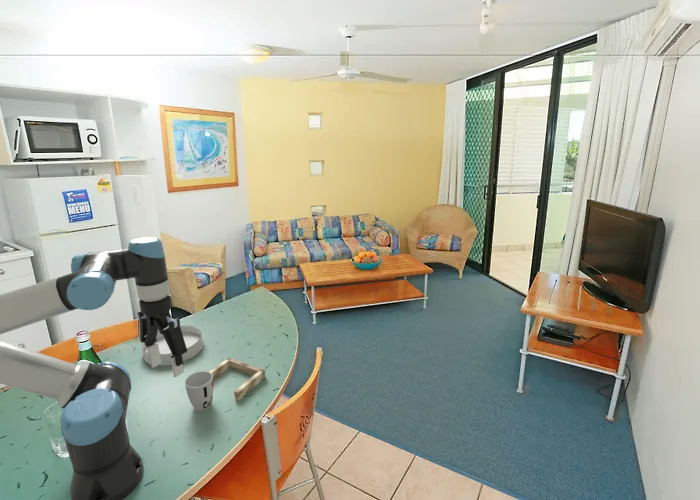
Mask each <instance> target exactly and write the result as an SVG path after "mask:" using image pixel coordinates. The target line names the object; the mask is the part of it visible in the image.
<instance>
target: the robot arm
mask: <svg viewBox="0 0 700 500" xmlns="http://www.w3.org/2000/svg"><path fill="white" fill-rule="evenodd" d="M165 254H166V253H165V251H164V247H163V242H162V240H161V239H160V238H158V237H155V236H154V237H153V236H145V237H140V238H139V237H138V238H134V239H132V240H130V241H129V242H128V247H127V248H124V249H123V248H122V249H115V250H114V249H113V250H104V251H88V252H85V253H79V254H75V255H73V257H72V258H71V263H70V272H71V273H69V274H65V275H62V276H60V277H58V276H57V277H55V278H51V279H48V280H45V281H40V282H38V283H35V284H31V285H29V286H25V287H21V288H18V289H14V290H11V291H8V292H4V293H1V294H0V335H2V334H6V333H9V332H12V331H15V330H17V329H21V328H23V327H27V326H29V325H33V324H35V323H39V322H42V321H45V320H48V319H51V318H54V317H57V316H60V315H63V314H66V313H69V312H72V311H75V310H77V309H78V310H82V311H94V310H97V309H99V308H101V307H103V306H105V305H106V304H107V303H108V302H109V300H110V299H111V297H112V295H113V294H114V291H115V287H116V283H117V281H122V280H123V281H124V280H129V279H134V282H135V286H136V287H135V289H136V294H137V297H138V299H139V300H138V303H139V308H140V311H138V312H137V316H138V319H139V320H138V321H139V340H140V342H141V343H143V342H144V343H145V345H146V346H147V349H148V354H149V358H150V363H151V364H150V368H152V369H153V368H156V367H157V366H159V364H161V358H160V352H159V346H158V343H155V344H154V342H156V341H158V340H157V339H156V337H157V332H158V331H159V332H160V334H163V336H164V338H165V340H166V342H167V345H168V347H169V349H170V351H171V353H172V355H171V356H170V357H171V363H172V365H171V369H172V375H173V377H174V378H177V377H179V376H180V375H182V374H183V373H184V372H185V370H184V365H183V364H184V361H183V359H182V354H184V353H186V352H187V348H186V345H185V341H184V338H183V335H182V331H181V328H180V326H181V321H180V319H179V318H177V317H176V318H175V319H174V318H172V315H171V313H170V311H171V309H172V308H173V301H172V300H173V299H172V295H171V290H170V285H169V275H168V270H167V262H166V255H165ZM165 328H167V329H165ZM163 329H165V330H163ZM131 381H132V380H131V376H130V373H129V371H128V370H127V369H126V367H124V366H123V365H122V364H120V363H117V362H113V361H104V362H99V363H96V364H95V363H92V362H90V361H86V362H83V363H81V364H75V363H72V362H69V361H65V360H62V359H60V358H57V357H54V356H51V355H47V354H44V353H41V352H38V351H35V350H32V349H29V348H26V347H23V346H20V345H17V344H14V343H11V342H9V341H5V340H2V339H0V385H4V386H8V387H11V388H13V389H14V388H15V389H19V390H22V391H26V392H29V393H33V394H36V395H40V396H43V397H47V398H50V399H51V398H52V399H54V400H56V402H57V404H58V407H59V408H61V409H63V410H62V411H61V413H60V419H59V420H60V421H59V422H60V431H61V435H62V437H63V440H64V443H65V446H66V449H67V450H66V451H67V453H68V457H69V459H70V462H71V463H70V464H71V466H72V469H73V472H72V478H71V482H70V483H71V484H70V490H69V496H70V499H71V500H123V499H125V498H126V497H127V496H128V495H130V494H131V493H132V492H133V491H134V490H135V489H136V487H138V485H139V483H140V482H141V479H143V476H144V471H145V468H144V463H143V458H142V457H141V455H140V454H139V453H138V451H136V450H135V448H134V447H133V446H132V445H131V442H130V439H129V433H128V429H127V423H126V420H127V419H126V418H127V411H128V405H129V399H130V393H131V390H132V382H131Z"/></svg>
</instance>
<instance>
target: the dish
mask: <svg viewBox="0 0 700 500" xmlns="http://www.w3.org/2000/svg"><path fill="white" fill-rule="evenodd" d="M167 328H168V327H167ZM167 328H165V329H167ZM180 328H181V331H182V335H183V338H184V341H185V345H186V348H187V352H186V353H184V354H182V359H183V362H186V361H187V360H190V359H191V358H193V357H195V356H196V355H197V354H199V353H200V352H201V351H202V349H203V347H204V338H203V336H202V331H201V329H200V328H198V327H196V326H192V325H180ZM165 329H163V330H165ZM156 339H157V340H158V341H156V342H154V344H155V343H158V346H159V352H160V358H161V364H159V365H158V366H170V365H171V366H172V363H171V357H170V356H171V355H172V353H171V351H170V349H169V347H168V345H167V342H166V340H165V338H164V336H163V334H160V332H159V330H158V332H157V337H156ZM141 343H142V342H141ZM141 349H142V350H141V351H142V352H141V353H142V357H143V360H144V362H146V363H147V364H149V365H151V363H150V358H149V354H148V349H147V346H146V345H145V343H144V342H143V343H142V345H141Z"/></svg>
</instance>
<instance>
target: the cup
mask: <svg viewBox="0 0 700 500" xmlns="http://www.w3.org/2000/svg"><path fill="white" fill-rule="evenodd" d="M184 386H185V390H186V394H187V397H188V399H189V402H190V404H191V406H192V407H193V409H194V410H195V411H197V412H204V411H207V410H208V409H209V408H210V407H211V406H212V403H213V402H212V401H213V398H214V380H213V375H212V374H211V373H210V372H209V371H206V370H201V371H195V372H194V373H191V374H190V375H188V376H187V377H186V378H185V380H184Z"/></svg>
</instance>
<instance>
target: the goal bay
mask: <svg viewBox="0 0 700 500" xmlns="http://www.w3.org/2000/svg"><path fill="white" fill-rule="evenodd" d="M229 369H233V370H236V371H237V372H241V373H244V374H247V375H249V376H251V377H250V378H249V379H247V380H245V382H244V383H242V384H241V385H240V386H239V387H237V388H236V389H235V390H234V391H233V393H234V394H233V396H234V399H235V400H237V401H240V400H241V399H242V398H243V397H245V395H247V394H248V393H249V392H250V391H251V390H253V388H255V387H256V386H257V385H258V384H260V383H261V382H262V381H263V380H264V379H266V370H265V369H263V368H260V367H257V366H254V365H251V364H249V363H247V362H243V361H240V360H237V359H235V358H231V357H227V358H226V359H225V360H224V361H222V362H220V363H219V364H217V365H216V366H214V367H213V368H212V369H210V370H209V371H208V372H210V373H211V374H212V375H213V381H214V380H215V379H216V378H218V377H219V376H221V374H223V373H224V372H226V371H227V370H229Z"/></svg>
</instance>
